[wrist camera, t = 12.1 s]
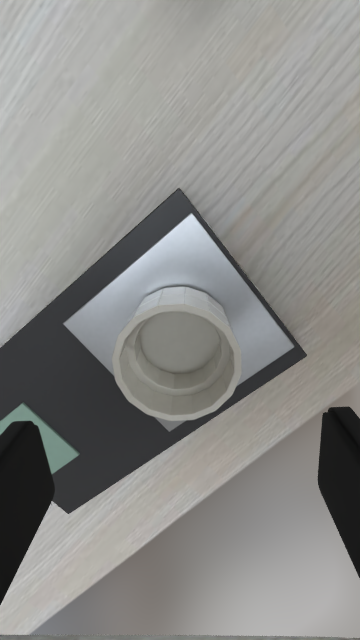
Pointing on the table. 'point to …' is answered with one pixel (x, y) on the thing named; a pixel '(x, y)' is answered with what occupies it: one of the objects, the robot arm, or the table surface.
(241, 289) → the pan
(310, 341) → the table surface
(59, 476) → the scale
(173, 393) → the cup
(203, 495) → the table surface
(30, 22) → the table surface
